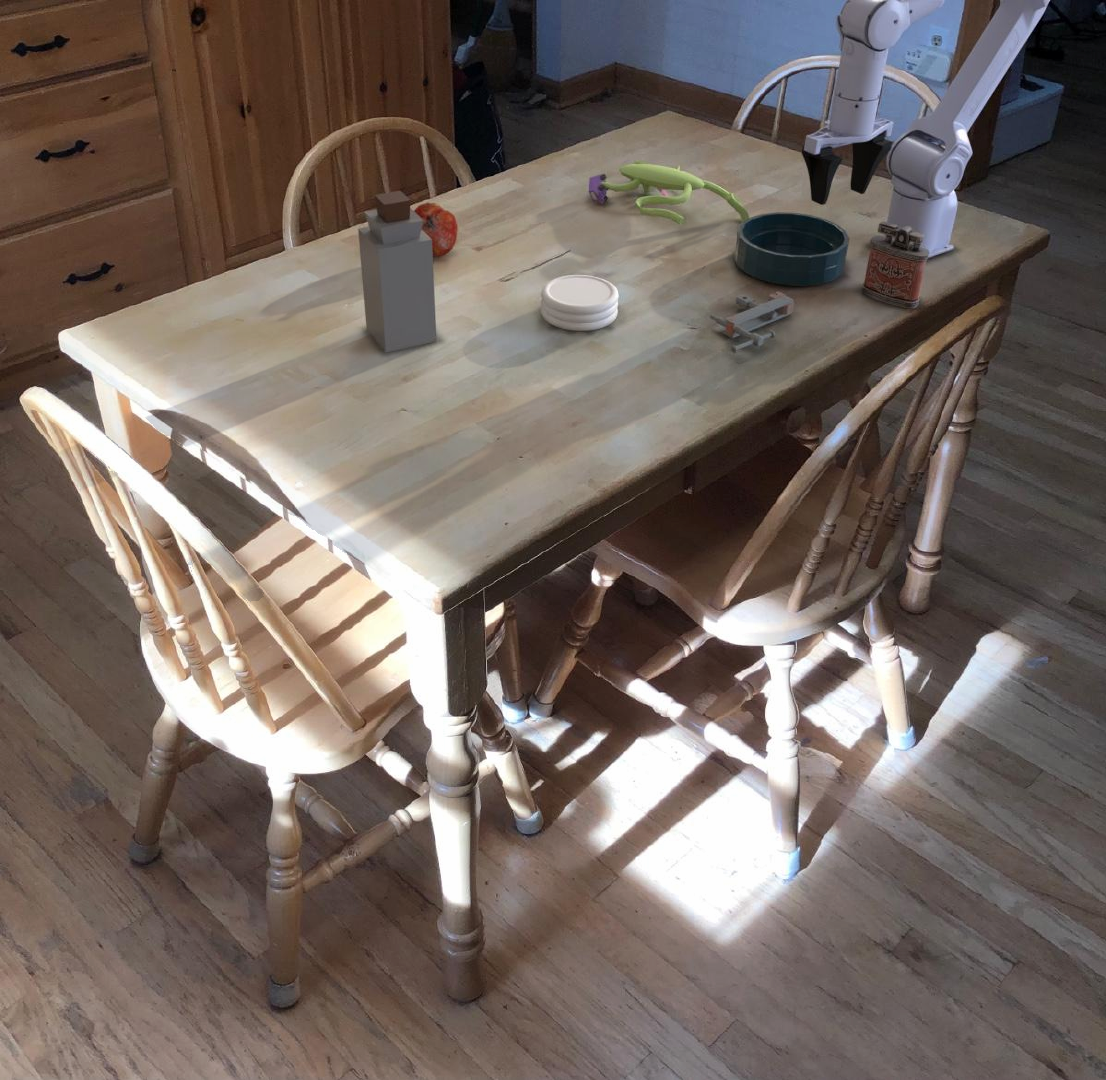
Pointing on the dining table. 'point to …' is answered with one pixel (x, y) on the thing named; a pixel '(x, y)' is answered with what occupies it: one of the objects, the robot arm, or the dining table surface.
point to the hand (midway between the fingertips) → (838, 196)
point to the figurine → (660, 188)
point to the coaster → (579, 302)
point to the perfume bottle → (397, 275)
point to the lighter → (895, 266)
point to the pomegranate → (438, 227)
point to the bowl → (791, 248)
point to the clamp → (768, 311)
